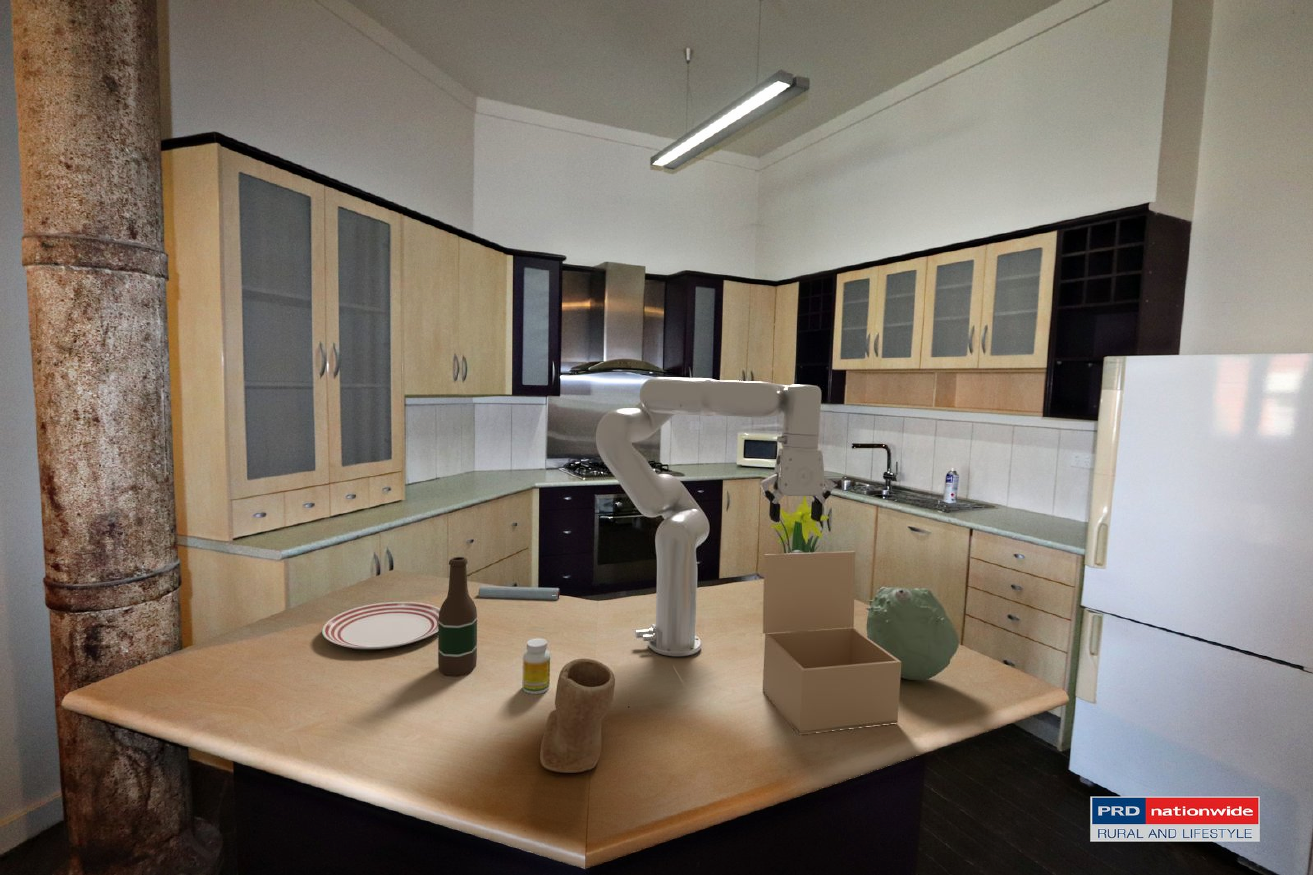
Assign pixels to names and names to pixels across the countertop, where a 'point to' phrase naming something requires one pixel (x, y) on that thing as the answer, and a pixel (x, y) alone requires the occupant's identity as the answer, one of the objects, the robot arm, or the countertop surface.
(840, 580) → the lid
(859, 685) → the carton
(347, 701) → the countertop surface
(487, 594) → the aluminum foil
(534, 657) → the supplement bottle
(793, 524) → the daffodil flowers
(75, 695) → the countertop surface
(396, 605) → the dinner plate
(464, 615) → the beer bottle
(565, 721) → the brown boot
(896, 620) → the green lumpy rounded blob
